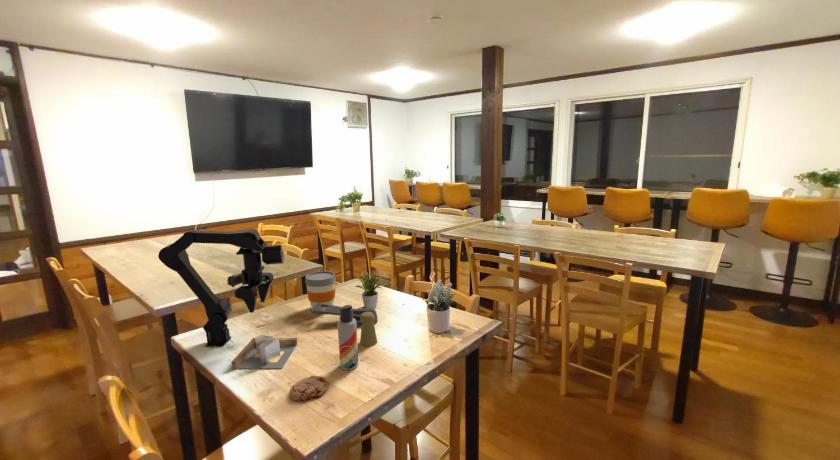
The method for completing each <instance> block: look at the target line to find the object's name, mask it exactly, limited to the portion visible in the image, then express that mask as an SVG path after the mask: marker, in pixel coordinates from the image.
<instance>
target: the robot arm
mask: <svg viewBox="0 0 840 460" xmlns="http://www.w3.org/2000/svg"><path fill="white" fill-rule="evenodd" d="M192 244H219V245H231V246H235V247H238V248H239V249H238V250H237V252H235V255H237V256H239V255H242V258H243V267H244V268H243V269H242V270H241V272H239V273H237V274H235V275H234V274H232V275H229V276H228V277H227V280H226V281H227V283H226V284H227V285H229V286H230V287H231V288H235V287H236V286H238V285H240V286H239V287H238V288H237V289H236V290H235V291H234V298H237V299H239V300H242V301H243V302H244V304H245V305H246V307H247V309H248V311H249V313H253V314H254V312H255V310H256V304H257V299H258V296H259V300H260V302H261V303H265V301H266V299H267V296H268V293H269V290H270V287H271V286H272V283H273V281H274V275H273V273H271V272H264V271H263V270H265V266H264V265H263V264H265V265H281V264H284V262H285V253H284V249H283V247H282V244H275V245H270V244H269V245H268V244H267V243H266V241H264V239H263V238H261V234H260V232H259V231H257V229H255V228H248V229H247V228H245V229H240V230H236V231H217V230H197V229H190V230H188V231H186V232H184V233H183V235H181V236H180V237H179V238H178V239H177V240H175V241H174V242H172V243H170V244H168V245H166V246H164V247H163V248H161V249H160V250H159V252H158V255H157V256H158V259H159V262H161V263H163V265H164V266H165V267H167V268H168V269H170V270H172V271H174V272H176V273H177V274H178V275H179V277H180V278H181V279H182V280H183V281H184V283H185V284H186V285H187V286H188V288H189V289H190V290H191V291H192V292H193V293H194V295H195V296H196V298H197V299H198V300H199V301H200V303H201V304H203V307H204V310H205V315H206V317H207V318H208V319H207V321H206V322H205V324H204V325H203V326H202V329H203V330H204V332H205V335H206V343H205V344H204V347H223V346H225V345H226V344H227V343H228V342H229V341H230V340H231V339H232V336H230V335H231V333H230V328H229V327H228V324H227V323H226V322H227V321H228V320H229V318H230V316H231V315H232V312H233V309H232V303H230V302H229V301H228V300H227V298H226V296H223V297H222V298H220V297H218V296H217V295H216V294H215V293H214V292H213V290H212V289H211V288H210V287H209V285H208V284H207V283H206V281H205V280H204V279H203V278H202V277H201V275H200V274H199V273H198V272H197V270H196V269H195V268H194V267H193V265H192V264H191V261H190V258H189V254H188V252H187V249H188V248H189V247H190V246H191V245H192ZM262 263H263V264H262Z"/></svg>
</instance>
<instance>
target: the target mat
mask: <svg viewBox="0 0 840 460" xmlns="http://www.w3.org/2000/svg"><path fill="white" fill-rule="evenodd" d="M296 347H297V346H280V356H279V357H277V358H276V359H274V360H273V361H271V362H270V363H268V364H263V363H261V359H260V355H258V354H257V352H256V347H255V348H254V349H253V350H252V351H251V352H250V354H249V355H248V356H247V357H246V358H245V360H244V361H243V362H242V363H241V364H240V365H239V367H238V368H237V369H236V370H278V369H279V370H280V369H283V367H284V366H285V364H286V363H287V362H288V360H289V358H290V356H292V353H293V352H294V350H295V349H296Z"/></svg>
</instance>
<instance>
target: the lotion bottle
mask: <svg viewBox="0 0 840 460" xmlns="http://www.w3.org/2000/svg"><path fill="white" fill-rule="evenodd" d="M340 307H341V308H340V316H339V318H340V320H339V319H338V321H337V335H338V337H337V338H338V353H339V355H338V356H339V365H340V368H341V369H342V370H344V371H351V370H354V369H356V368H358V366H359V352H358V351H359V350H358V349H359V348H358V331H357V330H358V329H357V326H356V320H355V319H354V318H353V310H352V309H353V306H352V305H351V304H346V305H343V306H340Z"/></svg>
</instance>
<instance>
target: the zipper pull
mask: <svg viewBox="0 0 840 460" xmlns="http://www.w3.org/2000/svg"><path fill="white" fill-rule="evenodd" d="M320 307H327V308H326V310H325V311H321V310H319V309H320ZM341 307H342V306H338V305H328V304H322V303H318V304H316V305H315V306H314V307H313V309H312V308H311V312H312V314H318V315H319V314H320V315H330V316H331V315H332V316H339V317H338V318H339V319H338V321H339V320H340V308H341ZM352 310H353V318H354V319H355V320H356V326H357V327H362V323H361V321H360V316H361V314H362V313H364V312H372V313H373V314H374V315H375V321H374V326H375V325H376V324H377V323H378V321H379V320H378V314H377V311H376V309H365V308H362V307H361V308H352Z"/></svg>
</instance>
